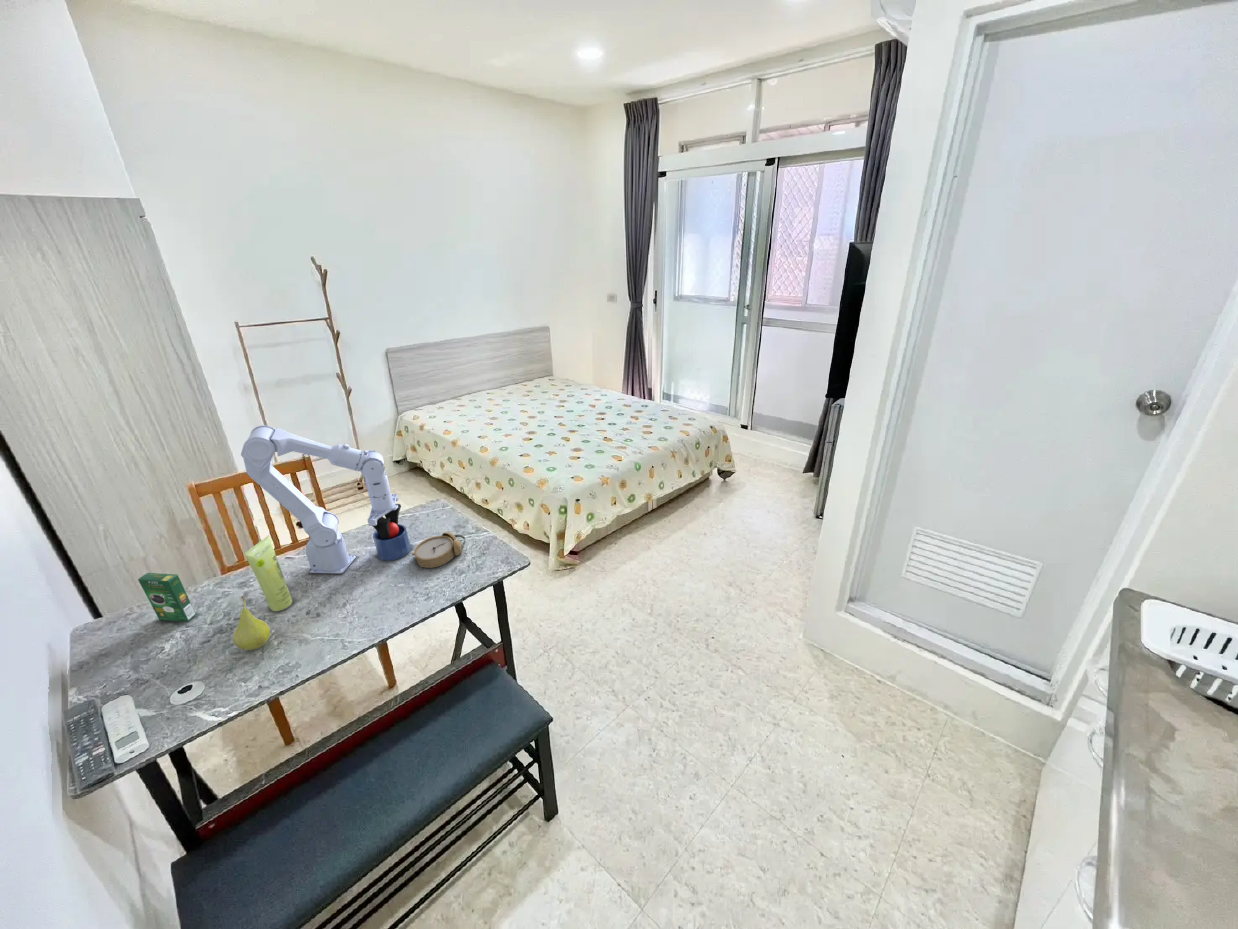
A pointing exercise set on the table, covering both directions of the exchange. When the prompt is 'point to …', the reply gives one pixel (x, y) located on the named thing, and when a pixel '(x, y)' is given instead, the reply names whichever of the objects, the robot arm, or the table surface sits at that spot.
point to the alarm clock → (438, 550)
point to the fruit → (250, 631)
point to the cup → (392, 545)
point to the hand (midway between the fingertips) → (389, 532)
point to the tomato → (393, 530)
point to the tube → (269, 574)
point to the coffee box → (167, 596)
